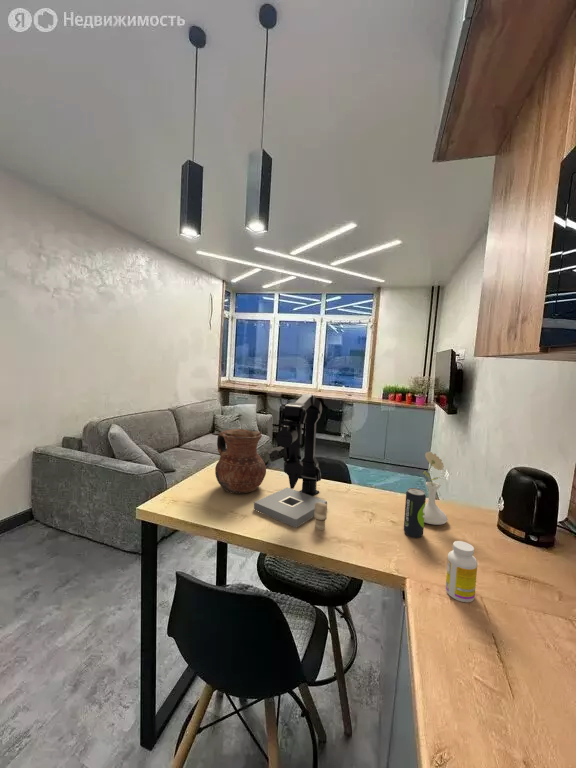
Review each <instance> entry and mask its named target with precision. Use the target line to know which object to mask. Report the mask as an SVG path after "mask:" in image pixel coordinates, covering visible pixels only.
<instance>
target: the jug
mask: <svg viewBox="0 0 576 768" xmlns="http://www.w3.org/2000/svg"><path fill="white" fill-rule="evenodd" d="M262 437H263V435H262V431H259V430H258V431H257V430H255V431H252V430H249V429H247V428H246V429H245V428H244V429H243V428H234V429H226V430H223V431H220V432H219V433H218V435H217V439H216V440H217V441H216V446H217V452H218V454H219V460H218V462H216V465H215V468H214V469H215V471H214V473H215V478H216V481H217V482H218V484H219V485H220V486H221V488H222V489H224V490H225V491H226V492H228V493H230V492H232V493H231V494H249V493H252V492H254V491H255V490H257V489H259V487H260V486H261V485H262V483H263V481H264V479H265V477H266V474H267V466H266V464H265V462H264V459H262V457H261V456H260V455H259V454H258V452H257V448H258V443H259V442H260V440H261V439H262ZM248 492H249V493H248Z"/></svg>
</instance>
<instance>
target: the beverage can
mask: <svg viewBox="0 0 576 768" xmlns="http://www.w3.org/2000/svg"><path fill="white" fill-rule="evenodd" d="M426 500H427V496H426V491H425V490H423V489H421V488H417V487H409V488H407V490H406V492H405V504H404V505H405V507H404V521H403V531H404V534H406V535H407V536H408V537H410V538H413V539H415V538H416V539H419V538H421V537H422V536H423V535H424V527H425V522H424V516H425V504H426Z"/></svg>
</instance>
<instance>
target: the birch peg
mask: <svg viewBox="0 0 576 768" xmlns="http://www.w3.org/2000/svg"><path fill="white" fill-rule="evenodd" d="M327 513H328V503H327V504H325V503H316V504H315V513H314V517H313V518H314V520H315V521H314V528H315V530H319V531H322V530H325V529H326V520H327V516H328V515H327Z"/></svg>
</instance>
